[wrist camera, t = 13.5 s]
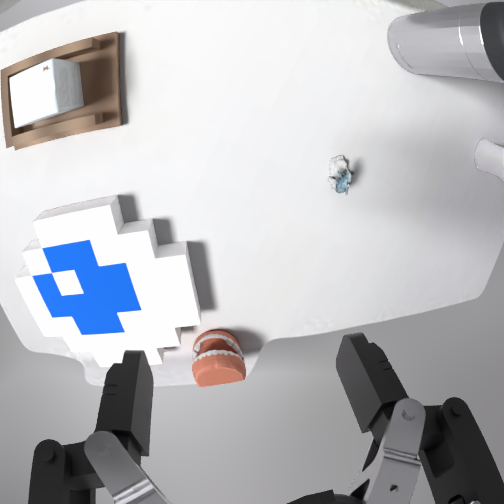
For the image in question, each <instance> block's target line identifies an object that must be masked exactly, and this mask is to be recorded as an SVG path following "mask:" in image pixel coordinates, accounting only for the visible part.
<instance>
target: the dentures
mask: <svg viewBox="0 0 504 504" xmlns="http://www.w3.org/2000/svg"><path fill="white" fill-rule="evenodd" d="M192 359H193V361H192V362H193V365H192V371H193V375H194V378H195V380H196V383H197V384H198V386H199V387H205V386H213V385H219V384H226V383H232V382H237V381H242V380H244V379H245V377H246V368H245V363H244V358H243V354H242V350H241V348H240V346H239V344H238V341H237V340H236V338H234V337H233V336H232V335H231V334H229V333H228V332H224V331H219V330H215V331H210V332H205V333H203V334H202V335H200V336H199V337H198V338H197V339H196V341H195V343H194V346H193V353H192Z"/></svg>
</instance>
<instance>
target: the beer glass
mask: <svg viewBox="0 0 504 504" xmlns="http://www.w3.org/2000/svg"><path fill="white" fill-rule="evenodd" d="M475 163H476V166H477V168H478V169H479V170H481V171H485V172H489V173H492V174H494V175H496V176H498V177H499V178H500V179H502V180H503V181H504V147H500V146H498V145H496V144H494V143H493V142H491V141H489V140H487V139H483V140H481V141H480V142H479V143H478V145H477V147H476V150H475Z"/></svg>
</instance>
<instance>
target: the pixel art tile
mask: <svg viewBox="0 0 504 504" xmlns="http://www.w3.org/2000/svg"><path fill="white" fill-rule="evenodd" d="M33 224H34V227H35V230H36V233H37V236H38V238H39V239H36V240H32V241H31V243H30V244H29V245H28V246H27V247H26V248H25V249H24V250H23V252H22V253H23V256H24V258H25V261H26V263H27V265H26V266H23V268H22V269H21V270H20V271H19V273H18V274H17V275H16V277H15V278H14V279H15V281H16V284H17V286H18V288H19V290H20V292H21V294H22V296H23V298H24V300H25V302H26V304H27V306H28V307H29V309H30V311H31V313H32V315H33V317H34V319H35V320H36V322H37V324H38V326H39V327H40V329H41V331H42V333H43V334H44V336H45V337H49V336H63V338H64V339H65V341H66V343H67V345H68V346H69V348H70V350H71V351H72V352H91V353H92V354H93V356H94V358H95V359H96V361H97V363H98V364H99V366H100V367H111V366H112V365H113V363H122V360H123V355H124V352H125V350H144V352H145V354H146V357H147V360H148V363H149V365H154V364H163V356H164V347H174V346H180V345H181V328H180V327H186V326H195V325H201V309H200V304H199V300H198V295H197V291H196V286H195V281H194V276H193V271H192V267H191V262H190V256H189V251H188V246H187V241H184V242H177V243H170V244H163V245H158V242H157V238H156V233H155V229H154V224H153V220H152V219H145V220H139V221H133V222H127V223H124V220H123V216H122V212H121V208H120V204H119V199H118V195H115V196H110V197H105V198H100V199H95V200H90V201H85V202H81V203H76V204H72V205H67V206H63V207H59V208H55V209H50V210H46V211H44V212H43V213H41V214H40V215H39V216H38V217H37V218H36V219H35V220H34V221H33Z"/></svg>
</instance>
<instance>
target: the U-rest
mask: <svg viewBox="0 0 504 504" xmlns="http://www.w3.org/2000/svg"><path fill="white" fill-rule="evenodd" d="M52 58H55V59H61V60H68V61H74V62H79V65H80V74H81V84H82V93H83V101H84V107H82V108H79V109H75V110H72V111H69V112H67V113H64V114H61V115H58V116H55V117H52V118H49V119H46V120H43V121H40V122H36V123H33V124H29V125H25V126H22V127H18V128H15V125H14V117H13V110H12V101H11V91H10V77H12V76H14V75H16V74H18V73H20V72H23V71H25V70H27V69H29V68H31V67H33V66H35V65H38V64H40V63H42V62H45V61H47V60H50V59H52ZM1 99H2V113H3V124H4V133H5V141H6V148H9V147H12V146H14V147H15V150H18V149H21V148H24V147H28V146H31V145H35V144H39V143H42V142H46V141H50V140H54V139H58V138H62V137H66V136H71V135H75V134H80V133H84V132H89V131H94V130H100V129H105V128H111V127H116V126H121V125H122V113H121V98H120V77H119V33H118V32H112V33H108V34H103V35H99V36H95V37H91V38H87V39H83V40H80V41H76V42H73V43H70V44H66V45H63V46H60V47H57V48H54V49H51V50H48V51H46V52H43V53H40V54H38V55H35V56H32V57H30V58H27V59H25V60H22V61H20V62H18V63H15V64H13V65H11V66H9V67H6V68H4V69H2V70H1Z"/></svg>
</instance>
